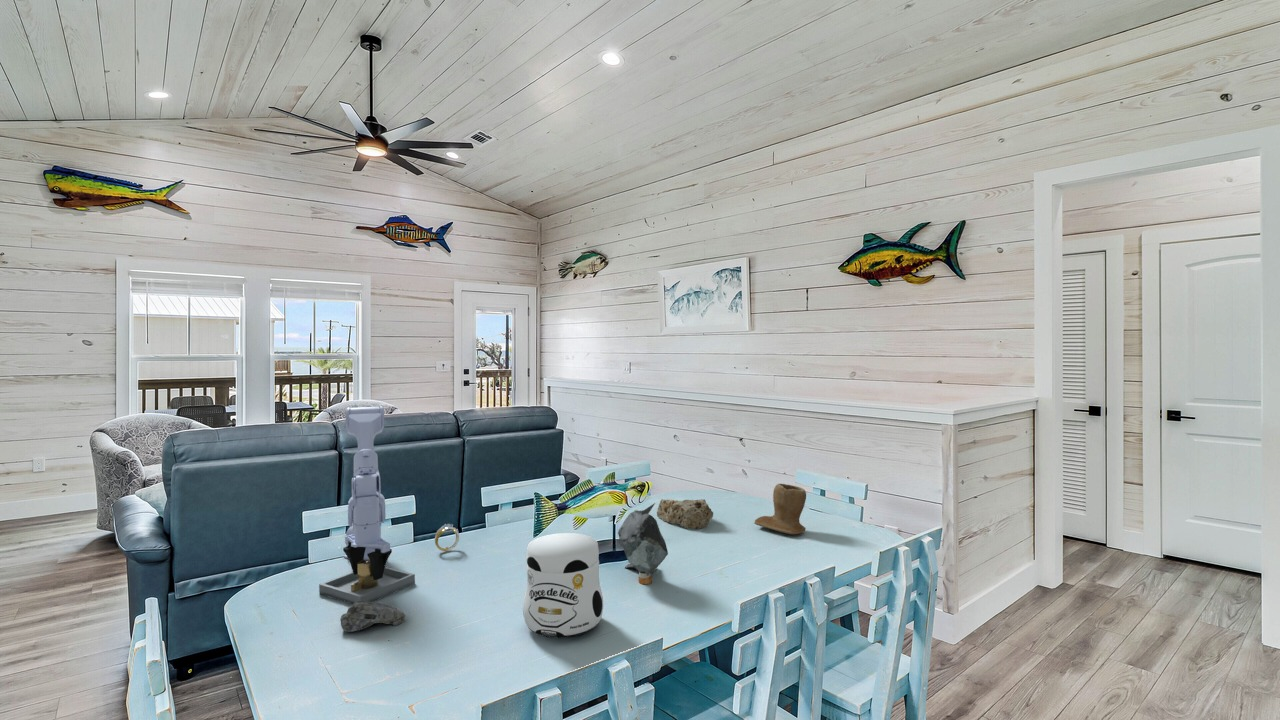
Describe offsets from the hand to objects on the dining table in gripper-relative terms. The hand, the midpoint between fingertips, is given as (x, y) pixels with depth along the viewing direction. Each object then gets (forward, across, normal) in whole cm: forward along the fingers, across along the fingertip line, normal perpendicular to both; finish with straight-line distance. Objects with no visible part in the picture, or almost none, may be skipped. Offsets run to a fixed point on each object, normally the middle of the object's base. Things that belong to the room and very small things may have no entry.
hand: (367, 575), depth 152 cm
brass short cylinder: (+2, 0, 0) cm, 2 cm away
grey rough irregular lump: (+4, +18, -12) cm, 22 cm away
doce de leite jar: (+3, +55, +7) cm, 56 cm away
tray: (+3, 0, 0) cm, 3 cm away
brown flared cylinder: (+3, +79, +95) cm, 124 cm away
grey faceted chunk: (+3, +58, +38) cm, 69 cm away
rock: (+4, +47, +89) cm, 101 cm away
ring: (+3, -3, +29) cm, 29 cm away
